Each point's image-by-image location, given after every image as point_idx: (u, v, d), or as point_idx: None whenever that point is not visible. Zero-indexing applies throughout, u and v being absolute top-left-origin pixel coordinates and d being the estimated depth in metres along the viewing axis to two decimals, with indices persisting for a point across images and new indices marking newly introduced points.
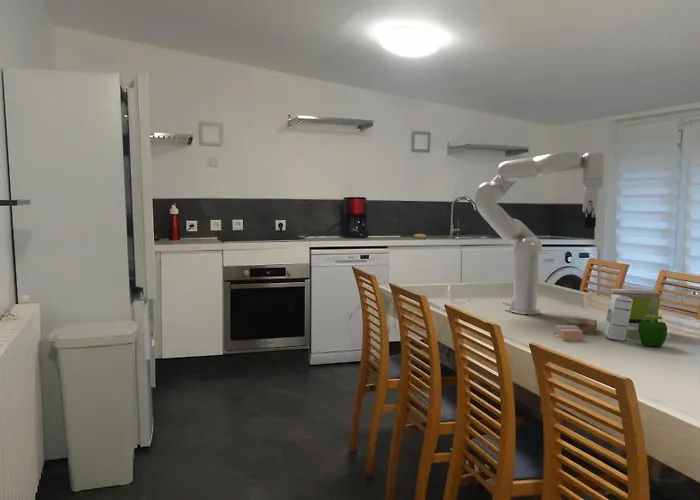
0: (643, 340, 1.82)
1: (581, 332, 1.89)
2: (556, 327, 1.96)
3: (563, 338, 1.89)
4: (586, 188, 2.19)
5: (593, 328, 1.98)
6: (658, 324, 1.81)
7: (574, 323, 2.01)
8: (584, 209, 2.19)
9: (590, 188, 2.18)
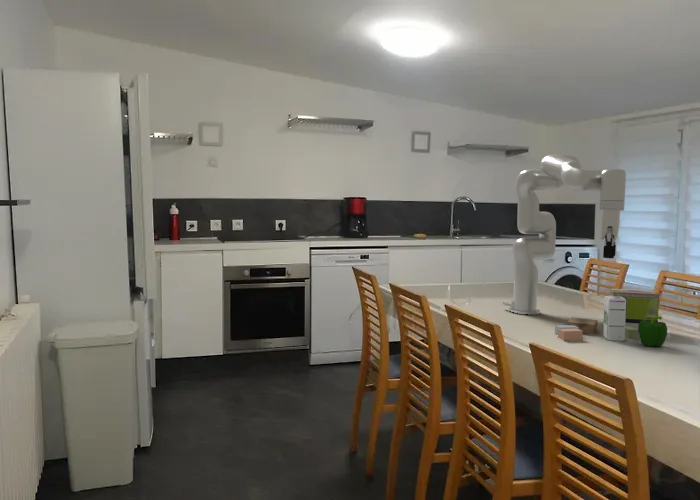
0: (643, 340, 1.82)
1: (581, 332, 1.89)
2: (556, 327, 1.96)
3: (564, 338, 1.88)
4: (605, 211, 1.85)
5: (592, 328, 1.98)
6: (658, 324, 1.81)
7: (574, 323, 2.01)
8: (603, 236, 1.86)
9: (609, 212, 1.85)
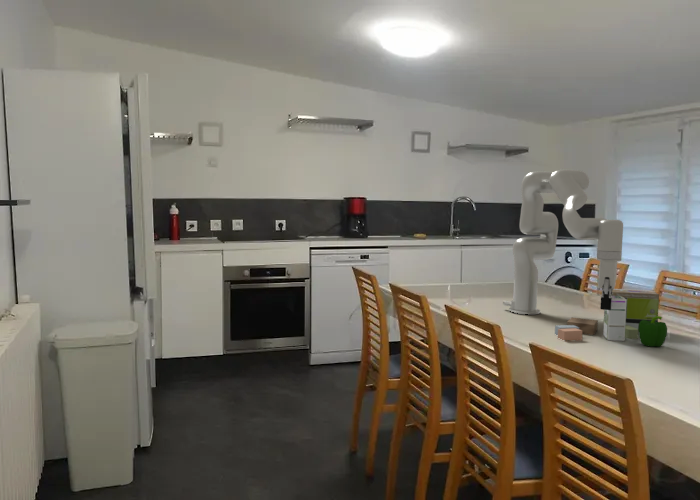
0: (643, 340, 1.82)
1: (581, 332, 1.90)
2: (556, 327, 1.96)
3: (564, 338, 1.88)
4: (602, 262, 1.87)
5: (592, 328, 1.98)
6: (658, 324, 1.81)
7: (573, 323, 2.01)
8: (600, 286, 1.87)
9: (607, 262, 1.86)
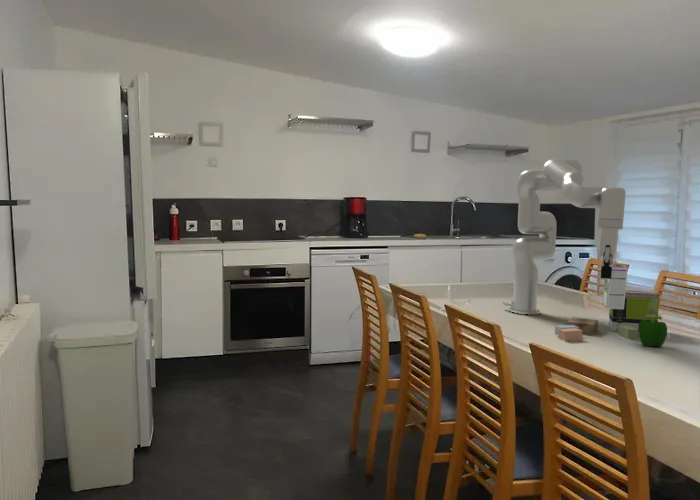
0: (643, 340, 1.82)
1: (581, 332, 1.90)
2: (556, 327, 1.96)
3: (565, 338, 1.88)
4: (603, 230, 1.86)
5: (592, 328, 1.98)
6: (658, 324, 1.81)
7: (573, 323, 2.01)
8: (600, 254, 1.87)
9: (608, 230, 1.85)
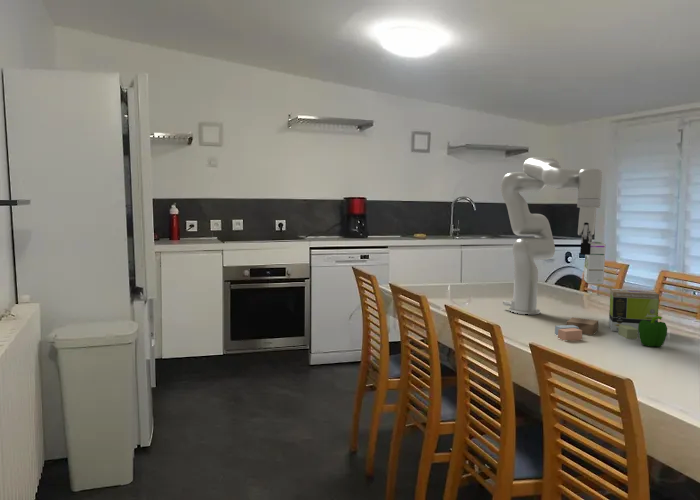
0: (643, 340, 1.82)
1: (581, 331, 1.90)
2: (557, 327, 1.95)
3: (565, 338, 1.88)
4: (582, 208, 1.97)
5: (591, 328, 1.98)
6: (658, 324, 1.81)
7: (573, 323, 2.01)
8: (579, 232, 1.97)
9: (586, 209, 1.96)
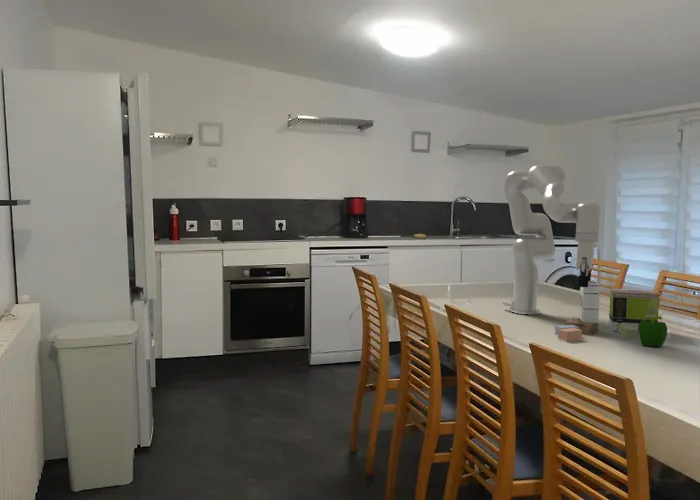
0: (643, 340, 1.82)
1: (580, 331, 1.90)
2: (557, 327, 1.95)
3: (566, 339, 1.88)
4: (580, 243, 1.98)
5: (589, 328, 1.98)
6: (658, 324, 1.81)
7: (571, 323, 2.02)
8: (578, 266, 1.98)
9: (584, 243, 1.97)
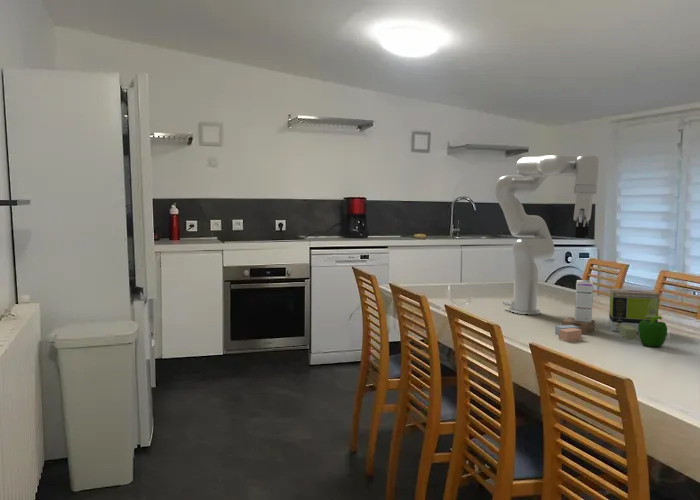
0: (643, 340, 1.82)
1: (580, 331, 1.90)
2: (557, 328, 1.95)
3: (567, 339, 1.88)
4: (578, 195, 2.01)
5: (586, 328, 1.98)
6: (658, 324, 1.81)
7: (568, 322, 2.02)
8: (575, 217, 2.02)
9: (582, 195, 2.01)
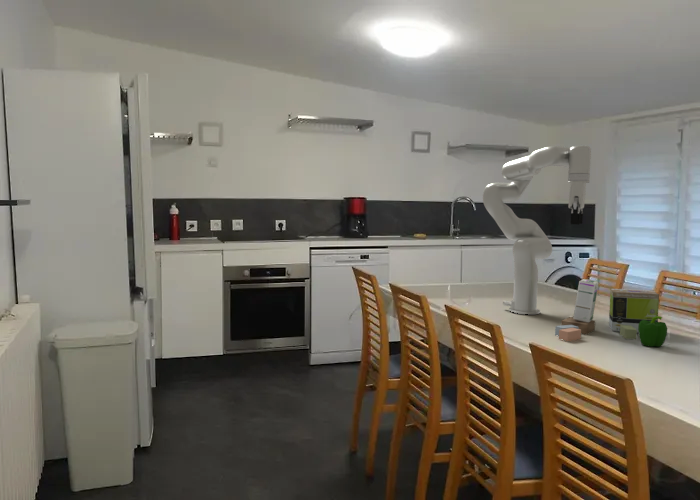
0: (643, 340, 1.82)
1: (580, 331, 1.91)
2: (557, 328, 1.95)
3: (568, 339, 1.88)
4: (572, 183, 2.10)
5: (585, 328, 1.98)
6: (658, 324, 1.81)
7: (567, 322, 2.02)
8: (570, 205, 2.10)
9: (576, 183, 2.09)
